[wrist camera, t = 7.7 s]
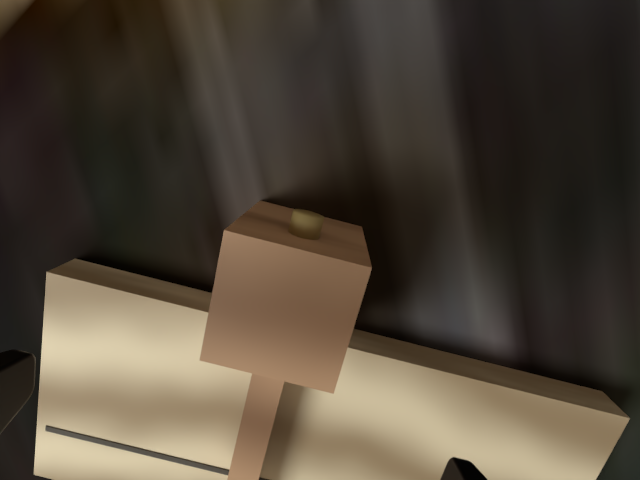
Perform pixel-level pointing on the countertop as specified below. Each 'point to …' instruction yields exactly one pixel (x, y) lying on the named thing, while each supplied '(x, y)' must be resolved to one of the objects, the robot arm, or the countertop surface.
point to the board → (285, 401)
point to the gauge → (283, 311)
